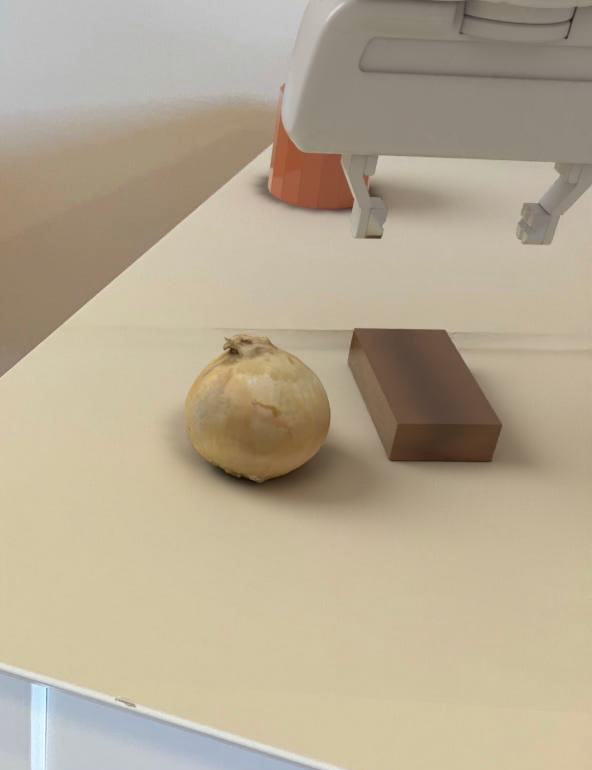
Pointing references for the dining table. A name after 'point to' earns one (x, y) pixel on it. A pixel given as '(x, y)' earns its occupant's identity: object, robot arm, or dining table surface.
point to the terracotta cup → (307, 173)
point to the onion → (257, 410)
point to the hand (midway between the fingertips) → (448, 238)
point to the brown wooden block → (422, 396)
